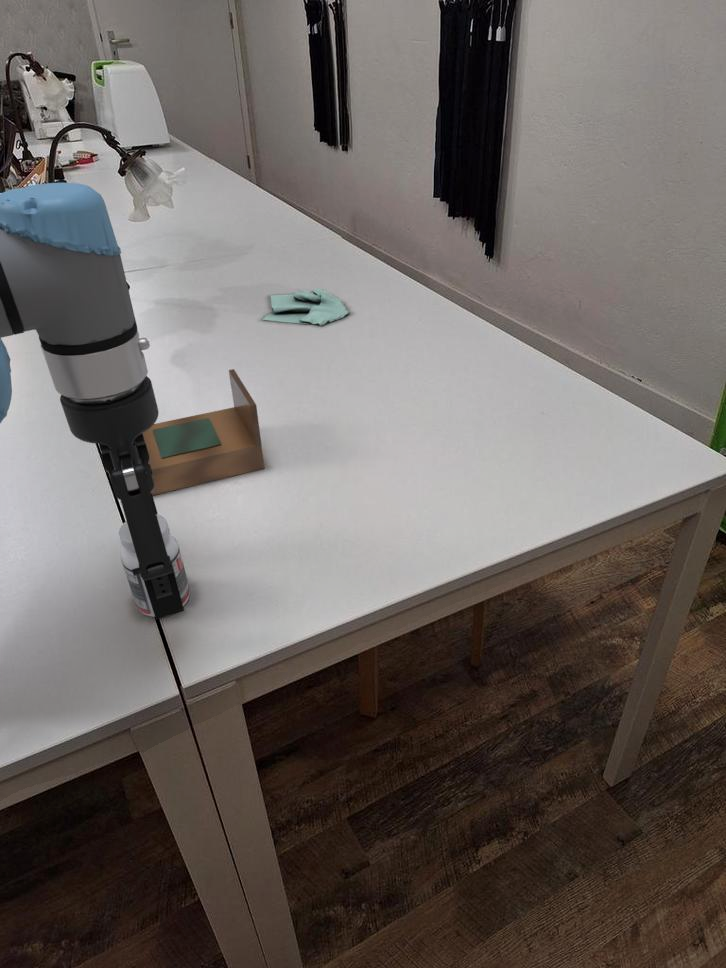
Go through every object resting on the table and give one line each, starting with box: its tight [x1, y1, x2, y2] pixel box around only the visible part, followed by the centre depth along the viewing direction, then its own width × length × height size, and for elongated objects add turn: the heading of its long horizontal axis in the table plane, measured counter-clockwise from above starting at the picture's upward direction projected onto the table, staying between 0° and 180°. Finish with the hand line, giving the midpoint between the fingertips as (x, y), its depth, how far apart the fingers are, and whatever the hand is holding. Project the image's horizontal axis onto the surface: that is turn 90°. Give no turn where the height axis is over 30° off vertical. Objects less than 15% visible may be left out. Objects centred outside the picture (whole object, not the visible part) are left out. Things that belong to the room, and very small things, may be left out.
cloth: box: [262, 287, 350, 327], centre depth 142 cm, size 20×22×2 cm
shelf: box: [143, 368, 265, 496], centre depth 90 cm, size 16×12×10 cm
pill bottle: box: [118, 513, 191, 618], centre depth 67 cm, size 6×6×10 cm
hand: (158, 568), depth 68 cm, fingers open, 13 cm apart
